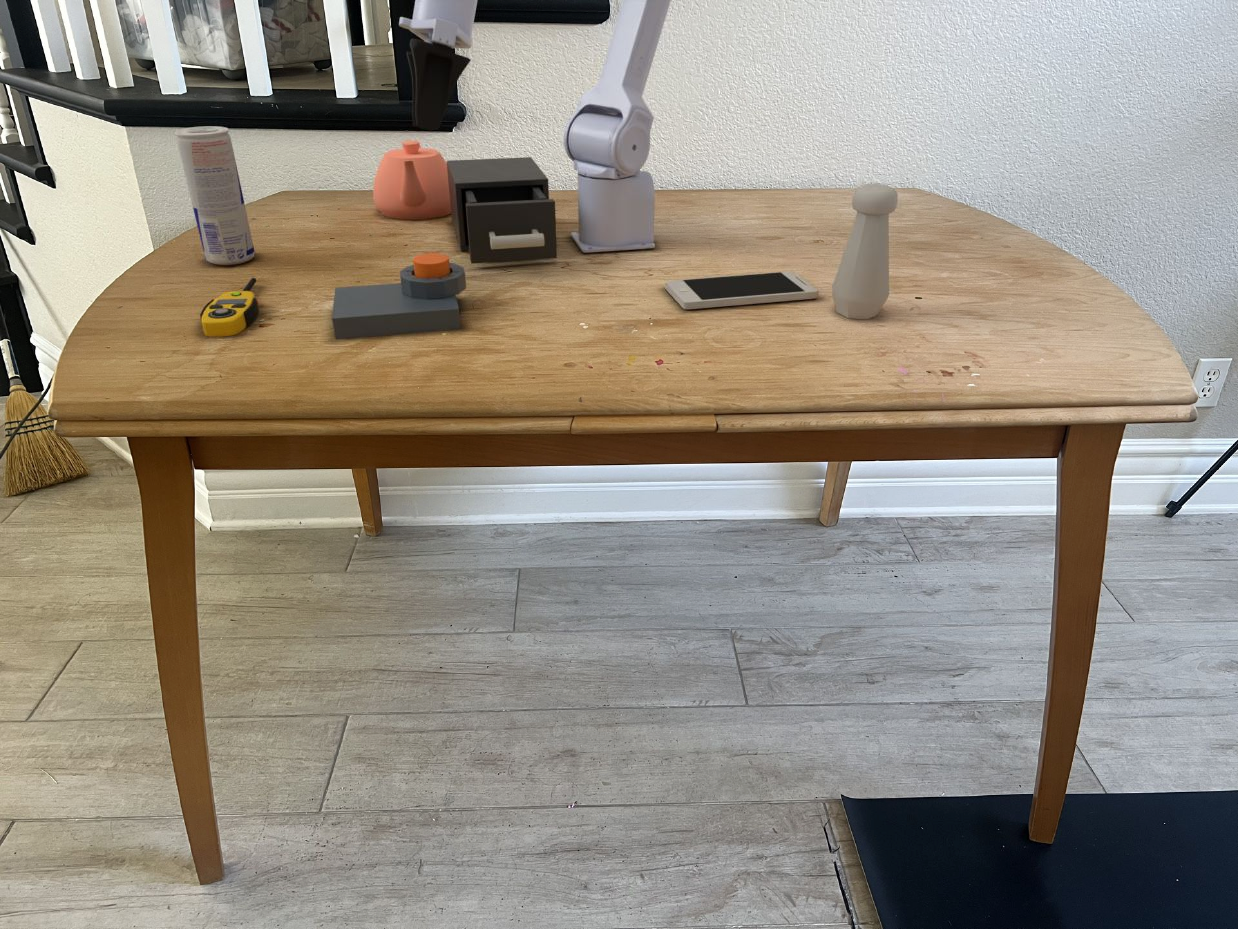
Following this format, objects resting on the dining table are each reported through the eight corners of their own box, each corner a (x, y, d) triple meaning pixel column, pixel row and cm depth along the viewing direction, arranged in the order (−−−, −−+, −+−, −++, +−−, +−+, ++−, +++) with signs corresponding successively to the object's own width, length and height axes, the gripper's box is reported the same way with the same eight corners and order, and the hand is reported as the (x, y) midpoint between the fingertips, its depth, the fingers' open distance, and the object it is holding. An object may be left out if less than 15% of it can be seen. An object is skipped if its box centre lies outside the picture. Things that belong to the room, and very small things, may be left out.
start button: (448, 268, 90) (447, 252, 89) (451, 279, 87) (450, 262, 86) (414, 270, 89) (412, 254, 88) (415, 281, 86) (413, 264, 86)
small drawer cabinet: (550, 246, 110) (548, 178, 105) (460, 252, 107) (454, 183, 103) (533, 219, 121) (531, 156, 116) (452, 223, 118) (446, 160, 114)
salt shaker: (886, 324, 87) (909, 195, 81) (829, 320, 88) (847, 191, 82) (882, 305, 92) (904, 181, 85) (828, 300, 93) (846, 178, 86)
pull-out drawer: (563, 268, 99) (561, 210, 96) (474, 275, 97) (470, 215, 93) (539, 229, 113) (537, 177, 109) (461, 234, 111) (457, 181, 107)
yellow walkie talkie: (188, 320, 82) (229, 269, 94) (193, 339, 83) (233, 286, 95) (241, 318, 82) (274, 268, 95) (246, 337, 83) (278, 285, 96)
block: (464, 295, 94) (461, 259, 91) (473, 328, 85) (470, 289, 83) (338, 305, 91) (332, 268, 89) (335, 340, 83) (328, 300, 81)
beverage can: (266, 256, 105) (239, 127, 97) (230, 269, 100) (199, 135, 93) (232, 250, 107) (203, 123, 99) (195, 263, 102) (162, 130, 95)
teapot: (461, 195, 132) (455, 130, 127) (459, 227, 116) (452, 155, 112) (380, 197, 130) (372, 131, 125) (368, 230, 115) (357, 156, 110)
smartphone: (664, 287, 96) (664, 279, 95) (791, 277, 99) (792, 269, 99) (684, 310, 90) (684, 301, 89) (818, 298, 93) (819, 290, 93)
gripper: (405, -20, 88) (384, 118, 92) (410, -48, 75) (385, 114, 78) (473, 2, 90) (449, 136, 94) (490, -22, 77) (461, 135, 81)
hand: (425, 128), depth 86 cm, fingers open, 7 cm apart
